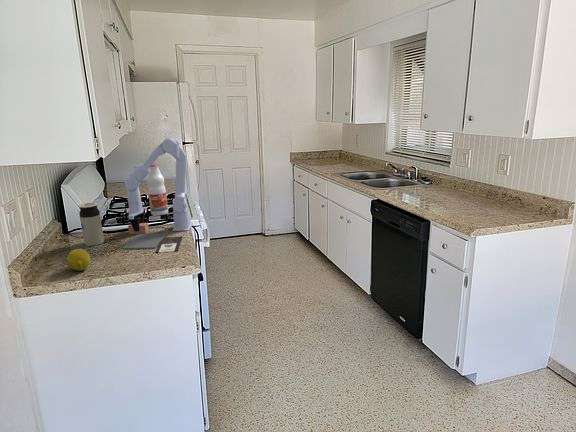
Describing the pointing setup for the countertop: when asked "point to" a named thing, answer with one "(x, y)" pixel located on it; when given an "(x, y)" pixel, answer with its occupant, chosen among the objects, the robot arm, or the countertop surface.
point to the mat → (145, 241)
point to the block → (142, 229)
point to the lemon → (78, 259)
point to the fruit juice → (157, 191)
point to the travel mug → (91, 224)
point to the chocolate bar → (169, 244)
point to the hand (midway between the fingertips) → (138, 229)
